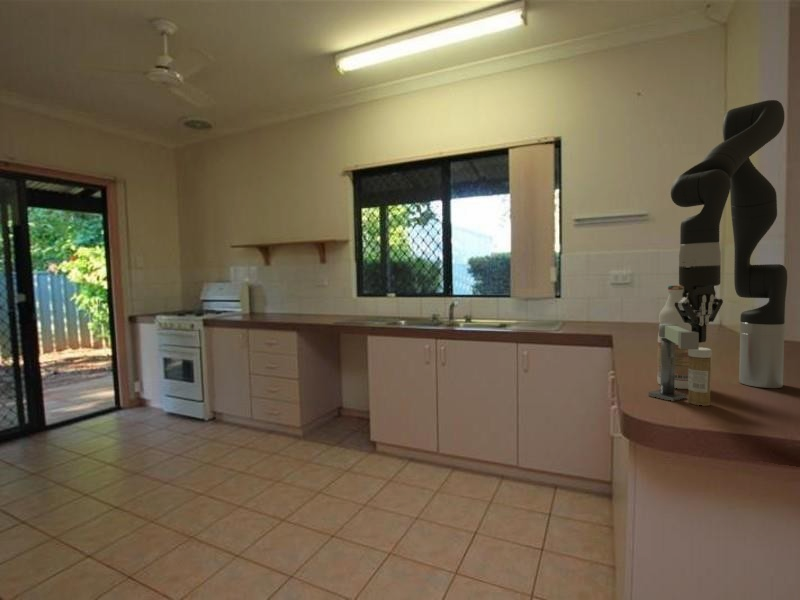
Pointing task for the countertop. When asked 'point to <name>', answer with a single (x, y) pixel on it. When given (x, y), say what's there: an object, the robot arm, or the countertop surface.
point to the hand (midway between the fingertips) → (698, 341)
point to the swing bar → (680, 336)
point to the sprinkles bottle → (699, 376)
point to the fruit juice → (681, 355)
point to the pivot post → (667, 373)
